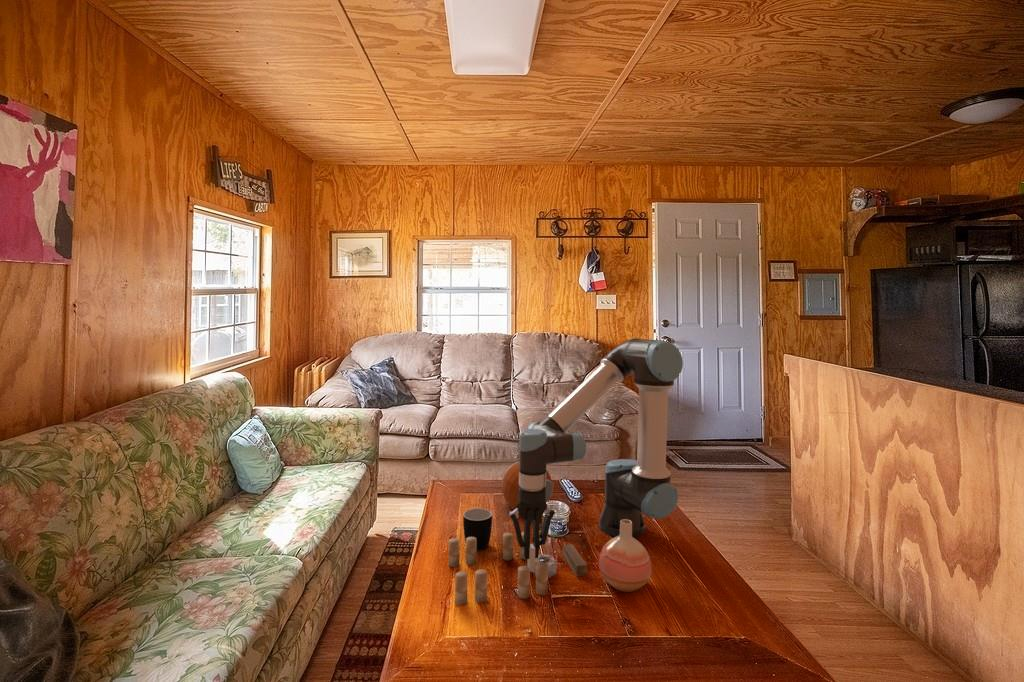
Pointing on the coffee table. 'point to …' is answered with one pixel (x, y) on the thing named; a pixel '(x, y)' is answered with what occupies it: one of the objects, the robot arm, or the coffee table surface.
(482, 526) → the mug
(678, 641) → the coffee table surface
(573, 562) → the rail
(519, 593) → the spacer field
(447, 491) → the coffee table surface
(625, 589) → the vase
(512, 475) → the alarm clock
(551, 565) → the nut
